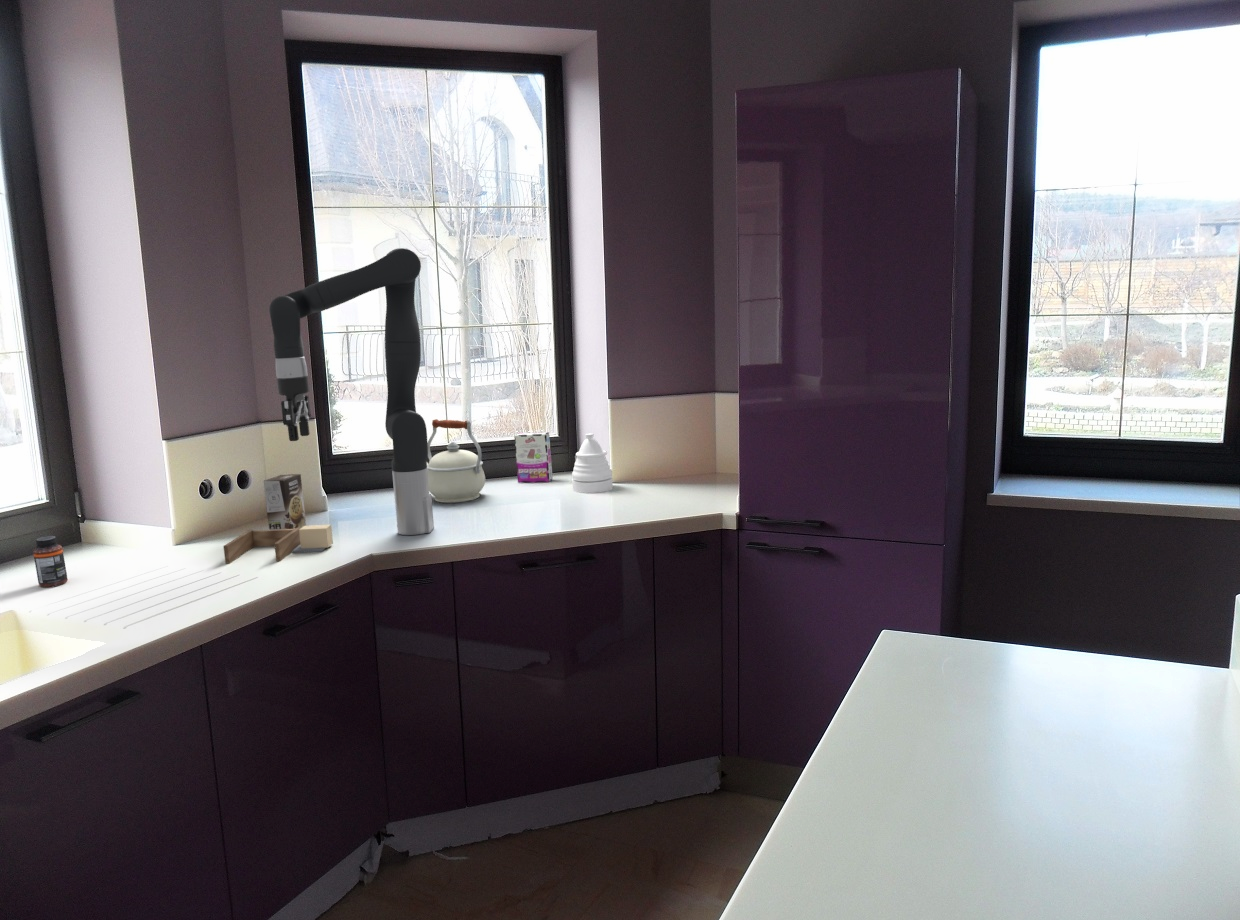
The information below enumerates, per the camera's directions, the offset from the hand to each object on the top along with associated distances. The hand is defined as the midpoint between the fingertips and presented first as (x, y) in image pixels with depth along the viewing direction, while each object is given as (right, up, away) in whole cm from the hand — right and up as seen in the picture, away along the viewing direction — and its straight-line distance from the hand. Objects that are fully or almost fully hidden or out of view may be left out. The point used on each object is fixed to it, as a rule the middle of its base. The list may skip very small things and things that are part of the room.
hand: (299, 438), depth 240 cm
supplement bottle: (-51, -35, -20) cm, 65 cm away
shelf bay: (-8, -30, -2) cm, 31 cm away
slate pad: (+3, -28, +1) cm, 29 cm away
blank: (+4, -28, +1) cm, 28 cm away
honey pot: (+74, -15, +58) cm, 95 cm away
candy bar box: (+54, -13, +75) cm, 94 cm away
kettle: (+30, -18, +55) cm, 65 cm away
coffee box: (-9, -26, +18) cm, 33 cm away
